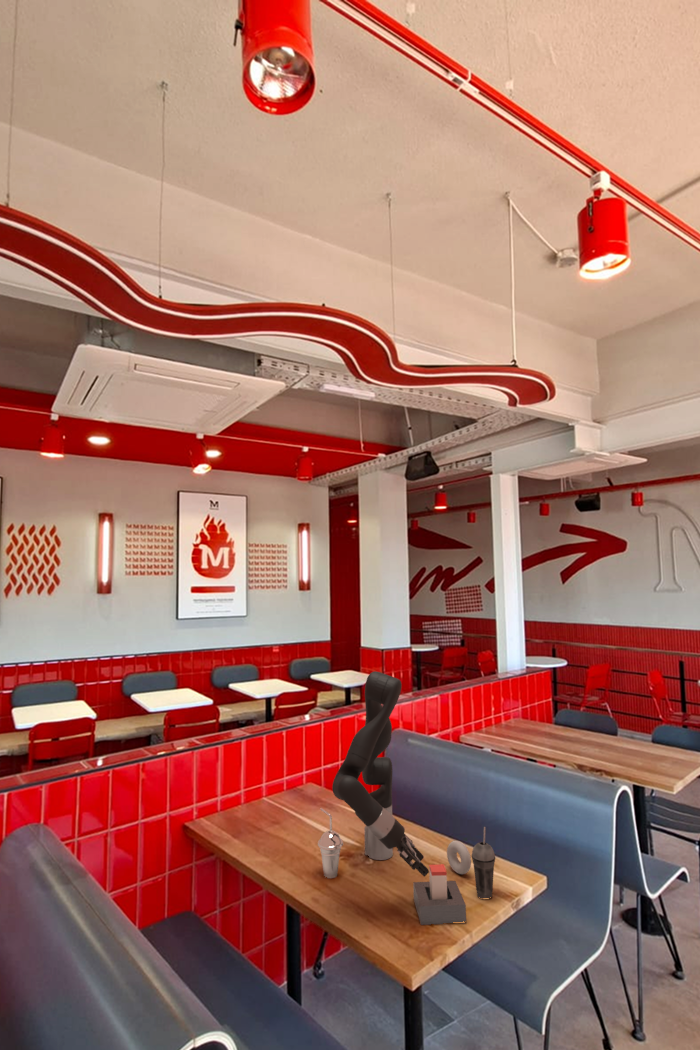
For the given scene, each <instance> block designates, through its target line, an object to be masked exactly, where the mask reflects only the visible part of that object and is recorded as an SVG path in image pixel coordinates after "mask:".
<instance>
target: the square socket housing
mask: <svg viewBox="0 0 700 1050" xmlns="http://www.w3.org/2000/svg"><path fill="white" fill-rule="evenodd" d="M412 885H413V887H412V888H413V902H414V906H415V909H416V913H417V916H418V919H419V920H418V921H419V922H420V923H419V924H420V925H421V926H424V925H425V926H427V925H428V926H431V924H434V925H444V924H443V923H453V922H463V921H464V922H465V921H466V922H467V907H466V906H467V904H466V902H465V901H464V900H465V899H464V897H463V894H462V893H461V891H460V888H459V887H458V883H457V882H456V880H447V899H445V900H430V881H414V882H413V884H412Z"/></svg>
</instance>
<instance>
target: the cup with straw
mask: <svg viewBox="0 0 700 1050" xmlns="http://www.w3.org/2000/svg"><path fill="white" fill-rule="evenodd" d="M319 810H320V811H321V812H323V813H325V814H326V815H327V816H328V817H329V830H327V831H325V832H323V833H322V835H321V836H320V839H319V840H318V841H317V847H318V848H320V849H319V850H320V854H321V862H322V871H323V877H324V876H325V877H324V878H326V877H327V878H326V879H335V878H337V876H338V871H339V864H340V853H341V849H342V847H343V846H344V841H343V839H342V838H341V837H340V835H339V833H338V831H337V832H336V831H335V830H333V821H332V819H333V818H332V814H331V813H330V812H328V811H326V809H324V808H323V807H320V809H319Z"/></svg>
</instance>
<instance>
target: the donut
mask: <svg viewBox="0 0 700 1050" xmlns="http://www.w3.org/2000/svg"><path fill="white" fill-rule="evenodd" d="M458 855H459V857H460V860H459V858H458ZM471 858H472V856H471V853H470V851H469V849H468V847H467V846H466V845H465V844H464V843H463V842H462V841H460V840H452V841H451V842H449V844H448V846H447V849H446V859H447V861H448V864H449V866H450V868H451V869H452V870H453V871H454V872H455V873H457V874H459V875H466V874H467V873H468V872H469V871H470V870H471V866H472V859H471Z"/></svg>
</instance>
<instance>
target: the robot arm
mask: <svg viewBox="0 0 700 1050" xmlns="http://www.w3.org/2000/svg"><path fill="white" fill-rule="evenodd" d="M402 684H403V683H402V681H401V680H400V679H399V678H397V677H394V676H392V675H389V674H387V673H384V672H380V671H376V670H375V671H372V672H370V673H369V674H368V675H367V678H366V681H365V686H364V702H365V703H364V705H365V723H364V726H363V727H361V728H360V729H359V730H357V732H356V733H355V735H354V736H353V739H352V741H351V742H350V746H349V748H348V750H347V754H346V756H345V759H344V760H343V762H342V763H341V765H340V767H339V768H338V770H337V772H336V774H335V777H334V778H333V782H332V789H331V790H332V793H333V795H334V797H335V798H337V799H338V800H340V801H343V802H344V803H345V804H347V805H348V806H349V807H350V808H351V809H352V810H353V811H354V813H355V815H356V816H357V818H358V819H359V820H360V821H361V822H362V823H363V824H364V825H365V826H364V855H365V856H367V855H368V856H369V857H368V856H367V857H368V858H370V859H372V860H377V861H385V860H389V859H390V858H392V857H393V855H394V852H393V851H394V850H393V849H394V848H396V849H397V852H398V855H399V857H401V858H402V859H403V861H404V862H405V863H406V864H407V865H408V866H409V867H410V868H411V869H412V870H413V871H415V870H417V872H418V873H419V874H420V875H422V876H423V877H426V876H427V875H428V874H429V867H427V866H425V864H424V863H422V861H423V859H424V854H423V853H421V851H419V849H418V848H417V847H416V845H415V844H414V842H413V840H412V839H411V838H410V837H408V836H407V835H406V833H405V832H406V831H405V830H406V829H405V827H404V825H402V824H401V823H400V821H399V820H397V819H396V818H395V817H394V816H393V763H392V760H391V758H390V757H387V756H382V757H381V756H380V755H381V754H382V753H383V752H384V751H385V750H386V749H387V748H388V746H389V745H390V744H391V742H392V733H393V732H392V731H393V725H392V721H391V719H390V717H391V714H392V713H393V711H394V709H395V707H396V706H397V703H398V701H399V698H400V696H401V692H402ZM361 775H362V776H361ZM360 776H361V777H362V781H363V782H364V784H366V785H367V786H380V787H379V788H377V789H375V790H374V791H372V792H368V790H367V789H366V787H365V786H364V785H363V784H362V782H360V781H359V780H358V779H359V777H360ZM413 861H414V862H413Z"/></svg>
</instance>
